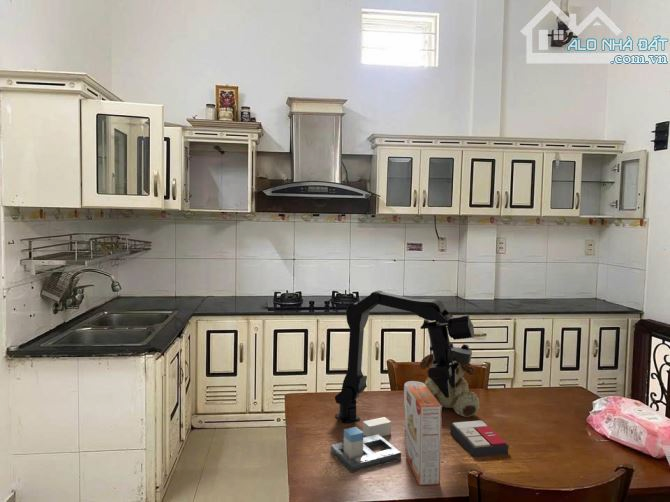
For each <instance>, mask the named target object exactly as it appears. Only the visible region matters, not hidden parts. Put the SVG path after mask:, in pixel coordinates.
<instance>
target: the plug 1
mask: <svg viewBox="0 0 670 502" xmlns="http://www.w3.org/2000/svg"><path fill="white" fill-rule="evenodd" d="M363 438H364V435H363V430H361V429H359V428H358V426H353V427H349V428H344V429H343V442H344V455H345V456H346V457H347V458H348V459H351V458H355V457H359V456H363Z"/></svg>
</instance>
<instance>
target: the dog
mask: <svg viewBox="0 0 670 502" xmlns="http://www.w3.org/2000/svg"><path fill="white" fill-rule="evenodd" d="M433 360H434V357H433V352H432V353H430V354H427V355H425V356H424V357H423V358H422V359H421V360H420V361H421V362H420V363H419V364H418V366H419V368H420V369H421V370H426V368H430V367H431V366H432V365H436V364H433ZM455 362H457V361H455ZM465 372H466V374H469V375H470V376H474V375H475V374H476V372H477V370H476V369H475V367H474V366H473V365H472V364H471V362H470V363H469V364H468V365H466V364H463V363H461V362H460V363H459V365H458V366H457V368H456V376H455V387H454V388H452V387H451V386H450V384H449V397H448V398H446V397H445V396H444V395H443V393H442V392H441V391H440V389H439V388H438V386H437V385H436V384H435V383H434V381H433V380H431V378H429V377H428V376H427V378H426V379H425V381H424V384H425V385H426V387H427V388H428V389H429V391H430V392H431V393H432V394H433V396H434V397H435V398H436V399H437V401H438V402H439V403H440V405H441V406H442V408H448V409H449V408H450V409H453V410H454V412H455V413H456V415H457V414H458V415H459V416H460V417H461V416H463V417H465V418H470V417H473V416H474V415H475V414H477V413H478V411H479V407H480V399H479V398H478V396H477V394H476V392H473V391H469V390H470V389H469V388H470V387H469V383H468V381H467V380H466V379H465V378H464V373H465Z"/></svg>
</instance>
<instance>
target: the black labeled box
mask: <svg viewBox="0 0 670 502" xmlns="http://www.w3.org/2000/svg"><path fill="white" fill-rule="evenodd" d="M450 435H451V436H452V437H453V438H454V439H455V440H457V441H458V442H459V443H460V444H461V446H462V447H464V449H465V450H466V451H467V452H468V453H469V454H470V455H471V456H472V457H474V458H478V457H479V458H480V457H488V456H499V455H507V454H509V447H510V446H509V443H507V441H506V440H504V439H503V438H502V437H501V436H500V435H499V434H498V433H496V431H494V429H492V428H491V427H490V426H489V425H488V424H487V423H485V422H484V421H483V420H472V421H471V420H470V421H459V422H458V421H457V422H451V424H450Z"/></svg>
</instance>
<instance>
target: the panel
mask: <svg viewBox="0 0 670 502" xmlns="http://www.w3.org/2000/svg"><path fill="white" fill-rule="evenodd" d="M377 447H382V448H383V449H384V450H381V451H377V452H374V451H373V450H372V449H373V448H377ZM330 453H331V454H332V455H333V456H334V457H335V458H336V459H337V460H338V461H339V462H340V463H341V464H342V465H343V466H344V467H345V469H347V471H348V472H349V473H355V472H359V471H362V470H365V469H366V470H367V469H370V468H373V467H374V468H375V467H377V466H381V465H385V464H388V463H392V462H395V461H396V462H397V461H400V460H402V452H401V451H400V450H398V449H397V448H396V447H395V446H394V445H393V444H391V443H390V442H389V441H388V440H386V438H384V437H383V436H380V435H379V434H377V435H373V436H369V437H366V436H363V456H359V457H355V458H351V459H348V458H347V457H346V456H345V455H344V441H343V442H339V443H334V444H331V445H330Z"/></svg>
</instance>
